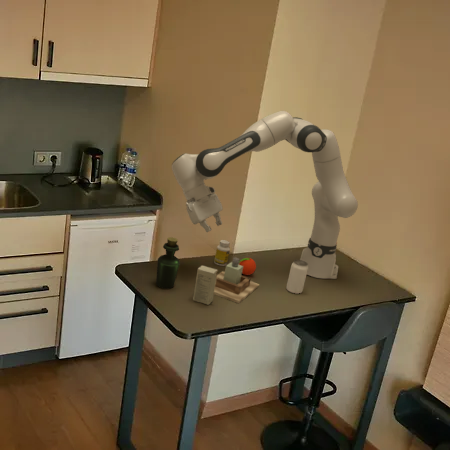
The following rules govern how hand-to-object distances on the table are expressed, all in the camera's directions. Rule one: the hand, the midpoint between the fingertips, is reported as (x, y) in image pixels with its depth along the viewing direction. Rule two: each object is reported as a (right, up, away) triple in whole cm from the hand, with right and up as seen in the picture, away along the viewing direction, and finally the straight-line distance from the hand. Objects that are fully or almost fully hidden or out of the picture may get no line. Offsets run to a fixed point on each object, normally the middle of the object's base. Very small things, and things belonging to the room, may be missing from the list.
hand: (214, 228), depth 230 cm
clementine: (+12, -19, +16) cm, 28 cm away
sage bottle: (+6, -22, +1) cm, 23 cm away
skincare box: (-4, -26, -14) cm, 30 cm away
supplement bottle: (+2, -15, +22) cm, 27 cm away
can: (+31, -25, +10) cm, 41 cm away
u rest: (+6, -23, +1) cm, 23 cm away
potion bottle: (-18, -21, -7) cm, 29 cm away
